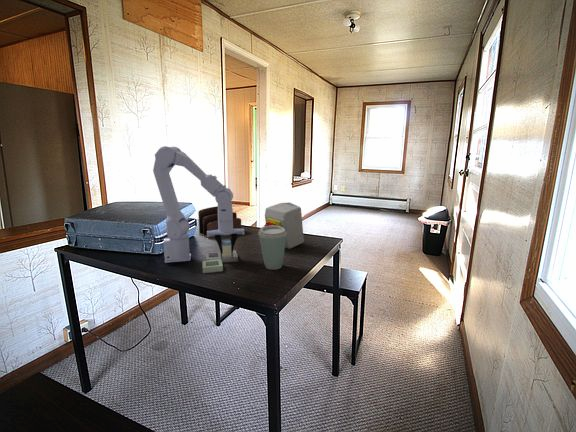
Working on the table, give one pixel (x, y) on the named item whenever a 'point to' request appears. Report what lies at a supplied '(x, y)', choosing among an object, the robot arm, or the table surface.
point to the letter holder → (213, 221)
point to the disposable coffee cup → (272, 245)
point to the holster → (212, 266)
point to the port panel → (224, 258)
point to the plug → (226, 248)
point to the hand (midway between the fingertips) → (226, 252)
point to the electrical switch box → (287, 222)
